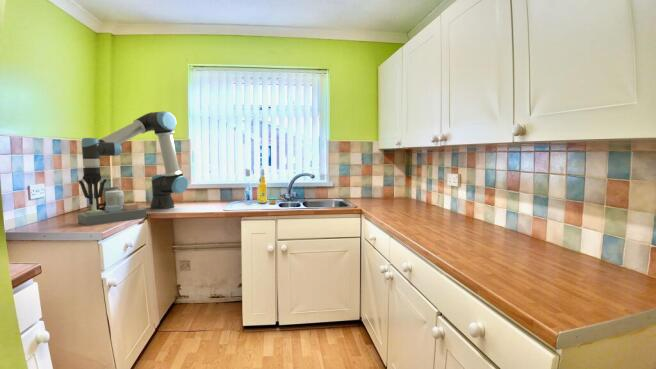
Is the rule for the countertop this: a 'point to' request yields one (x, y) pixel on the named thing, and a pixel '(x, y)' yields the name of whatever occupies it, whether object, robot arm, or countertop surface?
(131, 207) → the terracotta button
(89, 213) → the green button
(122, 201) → the supplement tub
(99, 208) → the milk frother
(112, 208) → the slate button
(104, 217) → the console
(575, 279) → the countertop surface
